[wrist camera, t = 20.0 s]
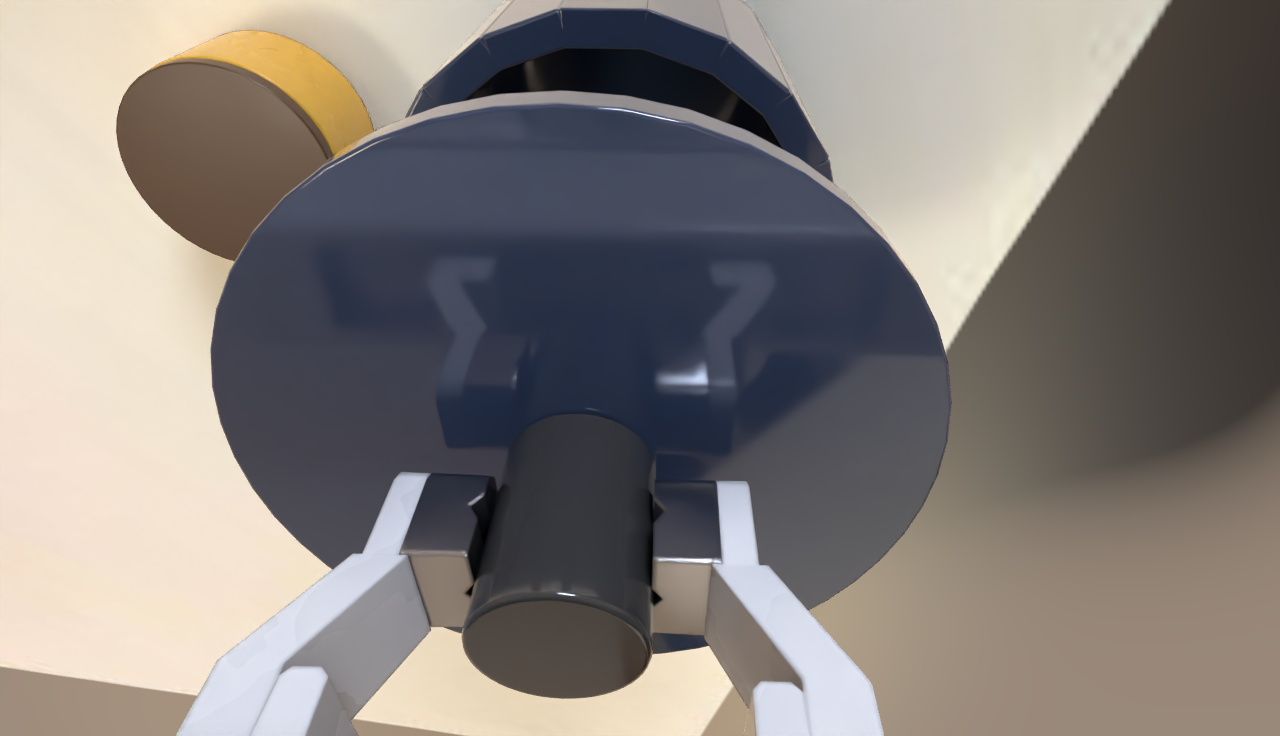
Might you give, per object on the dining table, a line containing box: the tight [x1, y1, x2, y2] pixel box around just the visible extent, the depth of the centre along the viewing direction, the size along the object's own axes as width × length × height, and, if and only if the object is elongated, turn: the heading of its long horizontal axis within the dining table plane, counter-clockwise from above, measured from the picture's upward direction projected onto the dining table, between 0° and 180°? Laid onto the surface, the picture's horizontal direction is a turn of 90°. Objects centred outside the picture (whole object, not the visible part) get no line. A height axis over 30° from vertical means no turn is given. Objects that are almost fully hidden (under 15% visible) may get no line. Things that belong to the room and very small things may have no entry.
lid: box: [211, 91, 951, 698], centre depth 11 cm, size 12×12×5 cm
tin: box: [116, 30, 374, 261], centre depth 24 cm, size 7×7×4 cm
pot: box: [405, 0, 834, 184], centre depth 22 cm, size 12×12×10 cm
